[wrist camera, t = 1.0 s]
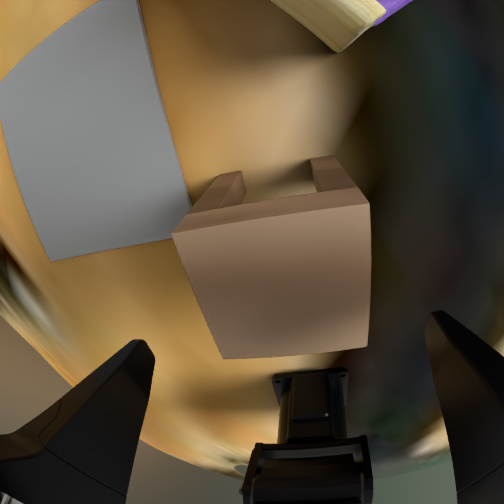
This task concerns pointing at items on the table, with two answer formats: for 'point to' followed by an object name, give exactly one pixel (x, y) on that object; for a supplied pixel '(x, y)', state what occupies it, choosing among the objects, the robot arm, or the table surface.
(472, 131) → the table surface
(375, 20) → the toy sofa
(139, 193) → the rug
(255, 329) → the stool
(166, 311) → the table surface
